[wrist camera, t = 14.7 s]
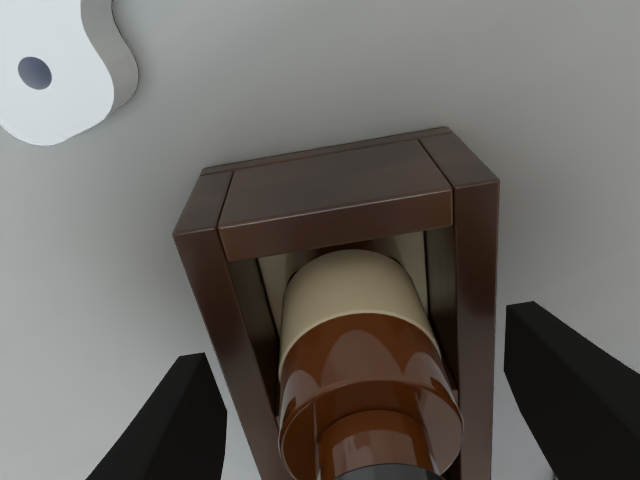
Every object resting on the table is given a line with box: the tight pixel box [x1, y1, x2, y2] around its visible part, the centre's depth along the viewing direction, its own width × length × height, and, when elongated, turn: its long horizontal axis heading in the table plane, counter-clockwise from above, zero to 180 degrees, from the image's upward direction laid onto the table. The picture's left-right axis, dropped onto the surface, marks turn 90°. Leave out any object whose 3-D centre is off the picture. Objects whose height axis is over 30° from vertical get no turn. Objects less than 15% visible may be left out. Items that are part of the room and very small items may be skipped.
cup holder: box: [172, 127, 500, 480], centre depth 17 cm, size 7×20×4 cm, turn 9°
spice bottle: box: [278, 236, 464, 480], centre depth 11 cm, size 4×4×8 cm
